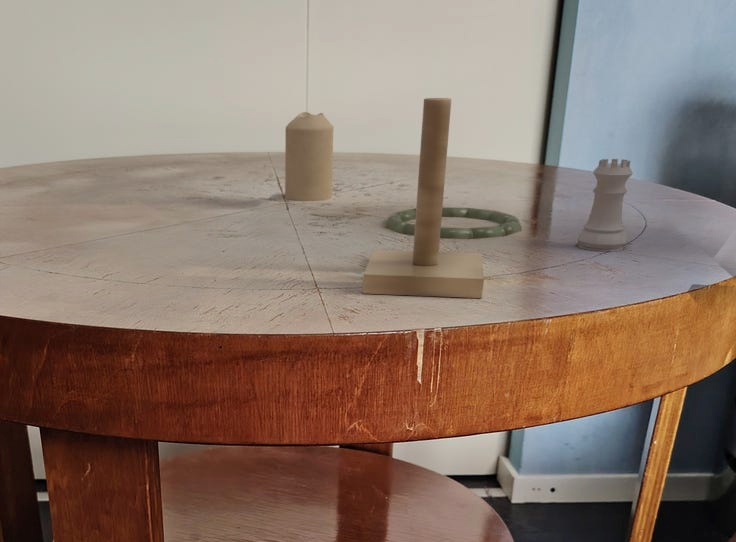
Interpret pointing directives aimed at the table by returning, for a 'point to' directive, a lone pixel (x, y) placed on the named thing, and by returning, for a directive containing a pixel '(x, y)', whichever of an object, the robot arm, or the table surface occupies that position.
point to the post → (427, 229)
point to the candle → (308, 158)
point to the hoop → (506, 228)
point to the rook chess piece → (607, 208)
